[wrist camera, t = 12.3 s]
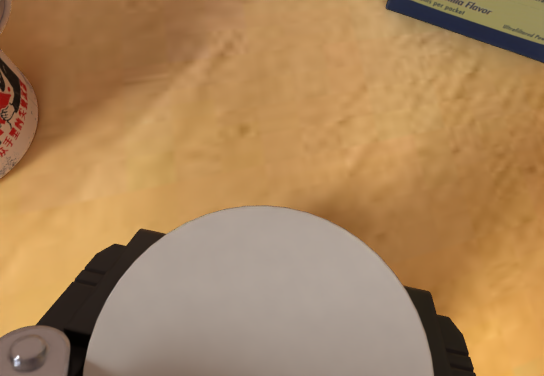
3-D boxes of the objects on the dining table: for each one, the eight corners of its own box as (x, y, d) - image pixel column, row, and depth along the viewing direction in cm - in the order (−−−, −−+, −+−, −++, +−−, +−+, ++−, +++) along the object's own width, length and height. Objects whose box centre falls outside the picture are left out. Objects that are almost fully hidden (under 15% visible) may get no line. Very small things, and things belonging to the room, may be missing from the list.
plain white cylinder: (147, 320, 15) (31, 298, 8) (296, 242, 16) (323, 153, 9) (221, 494, 14) (168, 682, 6) (381, 397, 15) (508, 456, 7)
